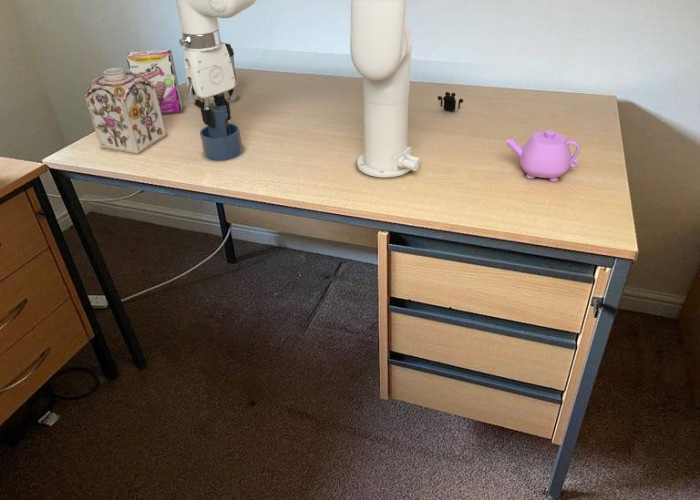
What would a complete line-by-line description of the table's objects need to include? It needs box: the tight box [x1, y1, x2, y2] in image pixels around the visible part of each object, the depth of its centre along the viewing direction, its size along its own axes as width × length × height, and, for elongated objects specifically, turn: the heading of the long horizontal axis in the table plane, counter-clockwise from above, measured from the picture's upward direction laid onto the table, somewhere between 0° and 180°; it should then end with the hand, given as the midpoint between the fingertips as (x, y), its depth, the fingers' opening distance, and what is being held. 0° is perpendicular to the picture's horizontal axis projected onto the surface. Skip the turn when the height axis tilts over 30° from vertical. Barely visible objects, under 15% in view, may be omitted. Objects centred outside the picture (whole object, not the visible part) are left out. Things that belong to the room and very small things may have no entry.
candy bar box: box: [125, 48, 184, 115], centre depth 147 cm, size 11×5×16 cm, turn 100°
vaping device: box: [206, 92, 231, 138], centre depth 124 cm, size 3×5×12 cm, turn 78°
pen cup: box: [199, 122, 243, 162], centre depth 127 cm, size 9×9×6 cm
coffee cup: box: [224, 42, 238, 104], centre depth 154 cm, size 8×8×15 cm
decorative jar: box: [84, 67, 167, 154], centre depth 131 cm, size 12×12×18 cm
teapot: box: [505, 129, 581, 182], centre depth 113 cm, size 10×15×9 cm
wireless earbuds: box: [437, 91, 464, 112], centre depth 143 cm, size 7×2×5 cm, turn 64°
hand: (217, 121), depth 125 cm, fingers closed on vaping device, 4 cm apart
